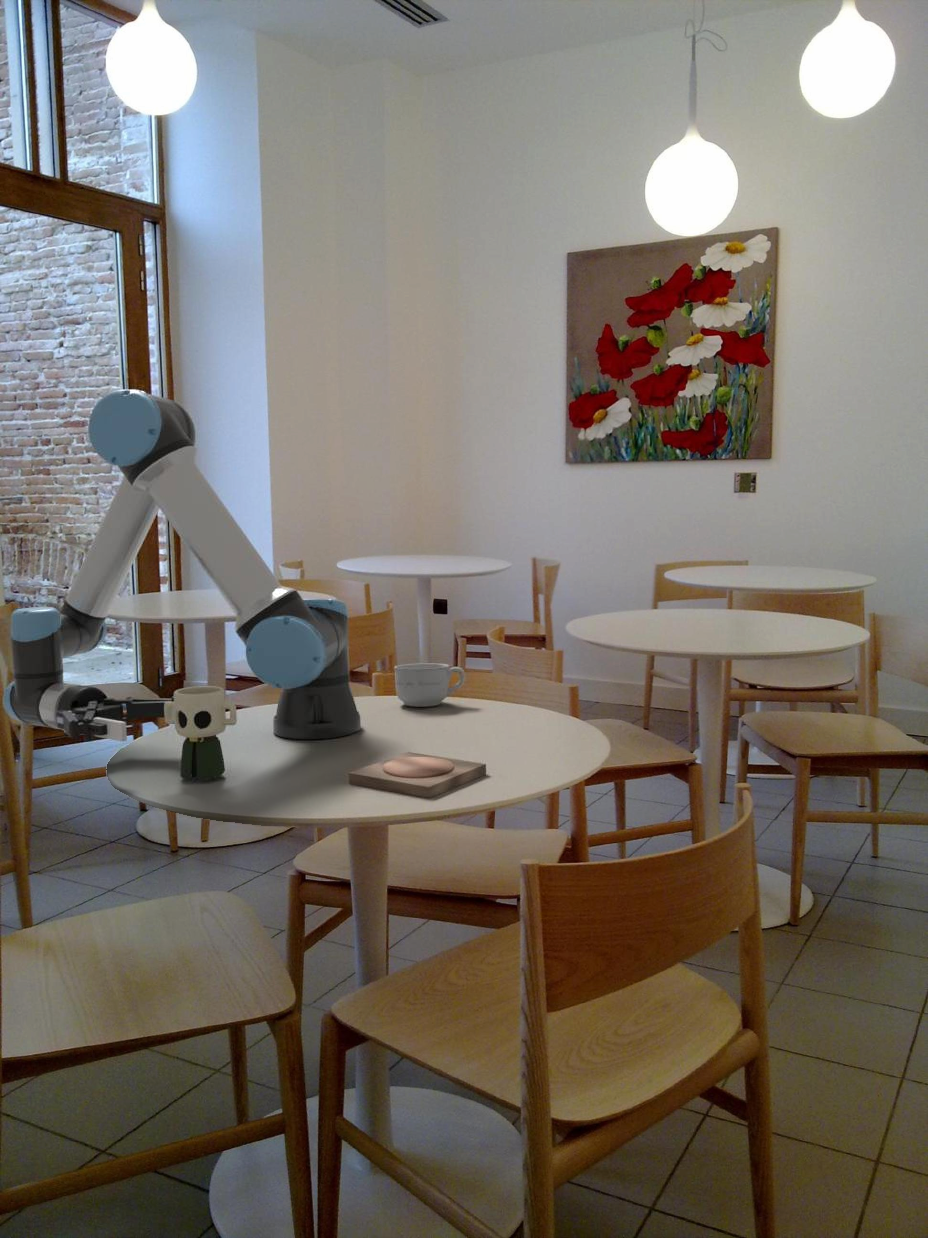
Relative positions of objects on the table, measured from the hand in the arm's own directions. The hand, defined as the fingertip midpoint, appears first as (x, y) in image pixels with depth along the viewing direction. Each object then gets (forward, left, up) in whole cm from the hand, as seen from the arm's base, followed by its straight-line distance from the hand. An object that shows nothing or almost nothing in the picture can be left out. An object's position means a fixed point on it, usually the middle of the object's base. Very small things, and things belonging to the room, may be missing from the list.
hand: (163, 723), depth 149 cm
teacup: (-60, +5, -8) cm, 61 cm away
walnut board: (-16, +35, -7) cm, 39 cm away
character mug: (0, +8, -8) cm, 11 cm away
